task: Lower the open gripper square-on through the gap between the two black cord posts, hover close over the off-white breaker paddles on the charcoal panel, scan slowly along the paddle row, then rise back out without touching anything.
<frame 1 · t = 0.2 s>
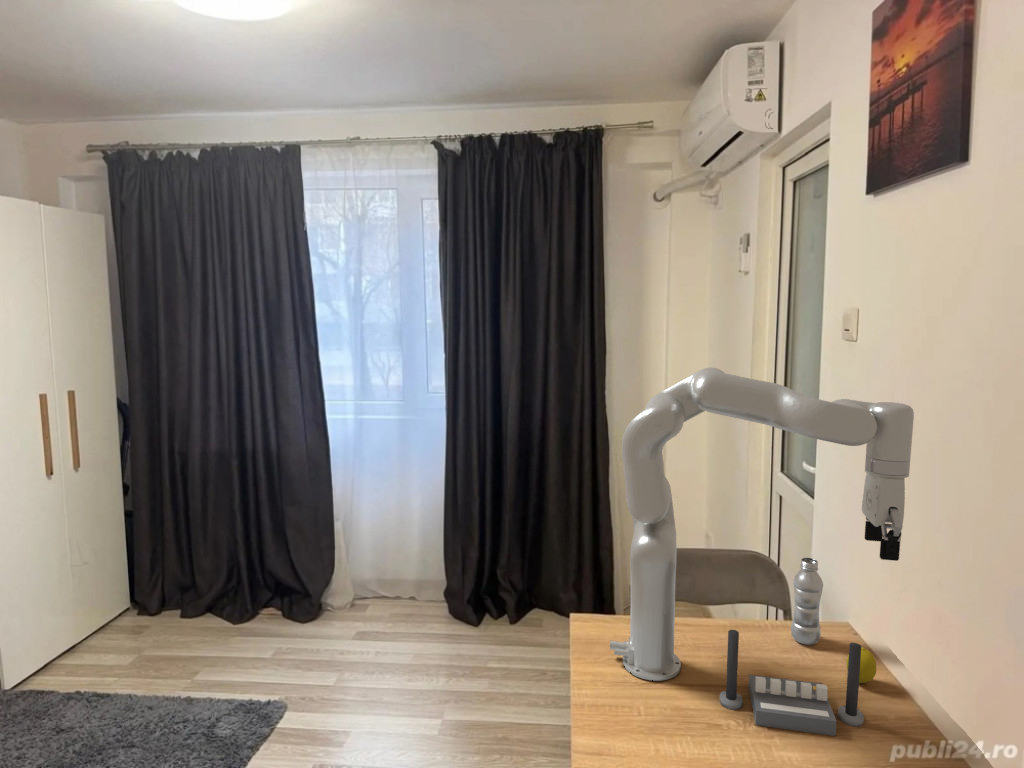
hand: (880, 549, 128), 31 cm above the table, fingers open, 9 cm apart
plastic bottle: (805, 641, 152), on the table
cord post left: (730, 702, 129), on the table
lemon: (860, 683, 135), on the table
cord post right: (850, 718, 124), on the table
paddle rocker: (790, 688, 126), point 5 cm above the table, hinge at 0.0°
breaker panel: (789, 710, 127), on the table
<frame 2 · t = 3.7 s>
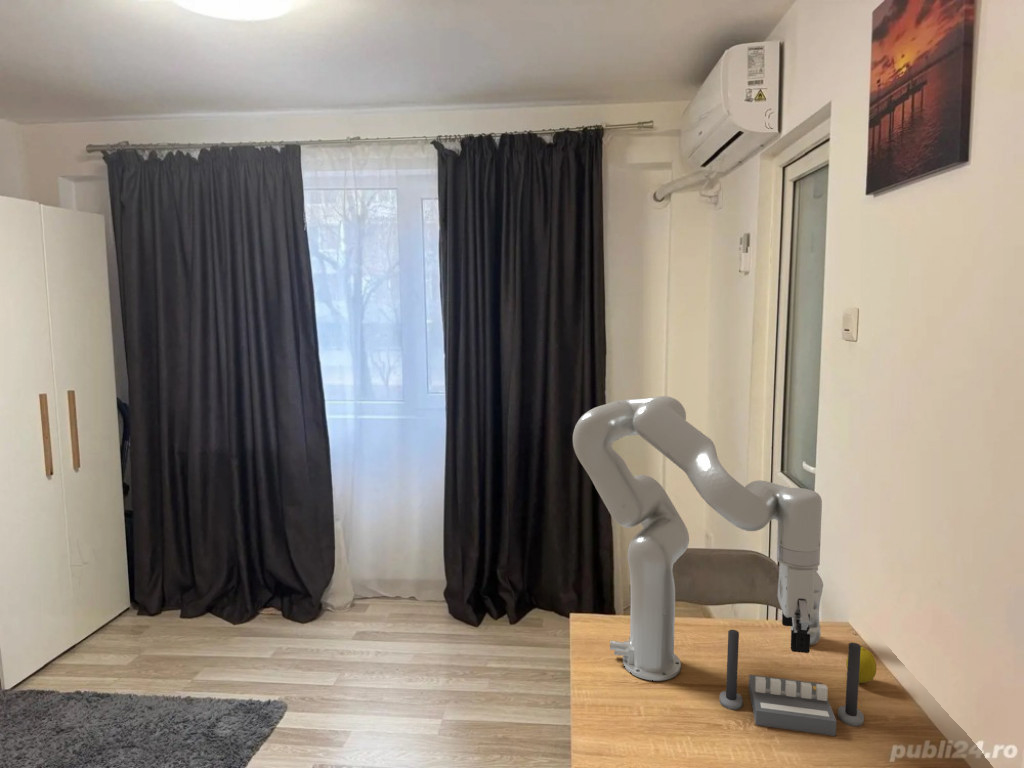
hand: (795, 638, 124), 15 cm above the table, fingers open, 9 cm apart
nothing on the table moved.
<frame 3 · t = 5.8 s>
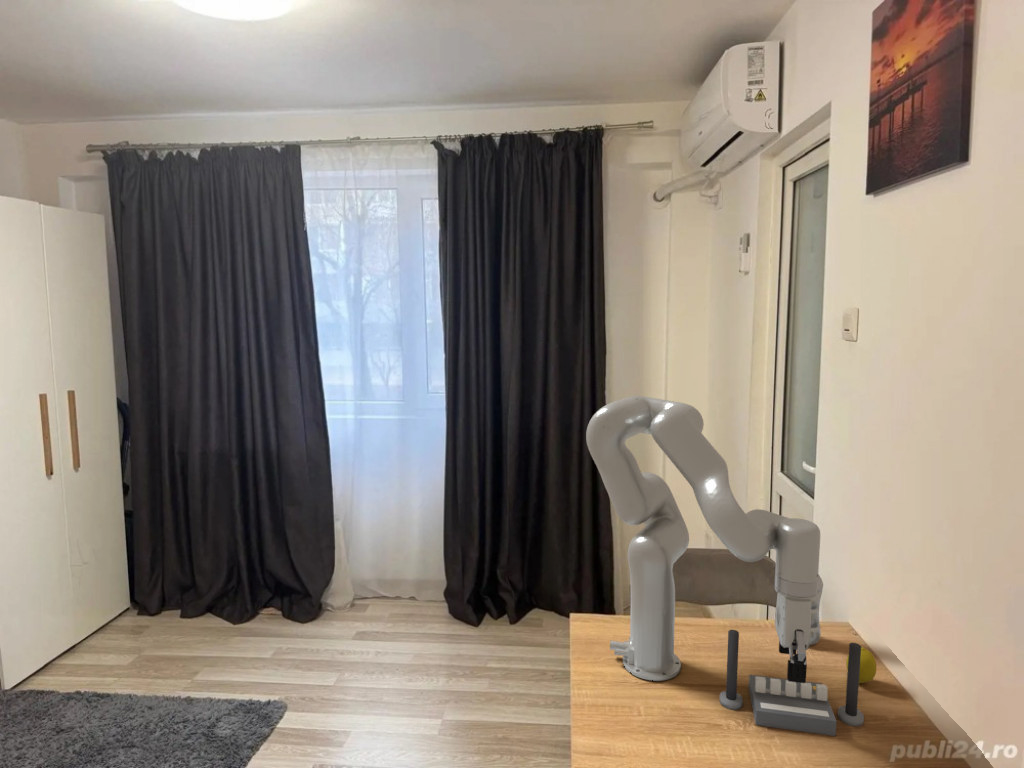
hand: (791, 666, 125), 9 cm above the table, fingers open, 9 cm apart
nothing on the table moved.
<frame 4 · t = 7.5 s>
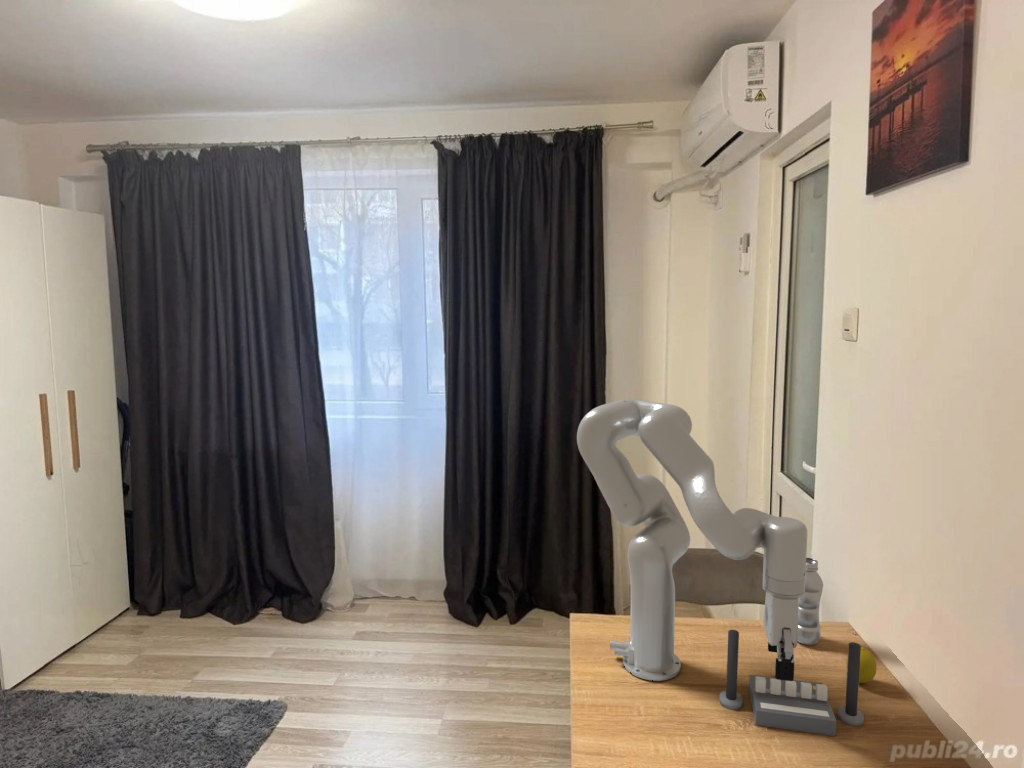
hand: (780, 665, 126), 9 cm above the table, fingers open, 9 cm apart
nothing on the table moved.
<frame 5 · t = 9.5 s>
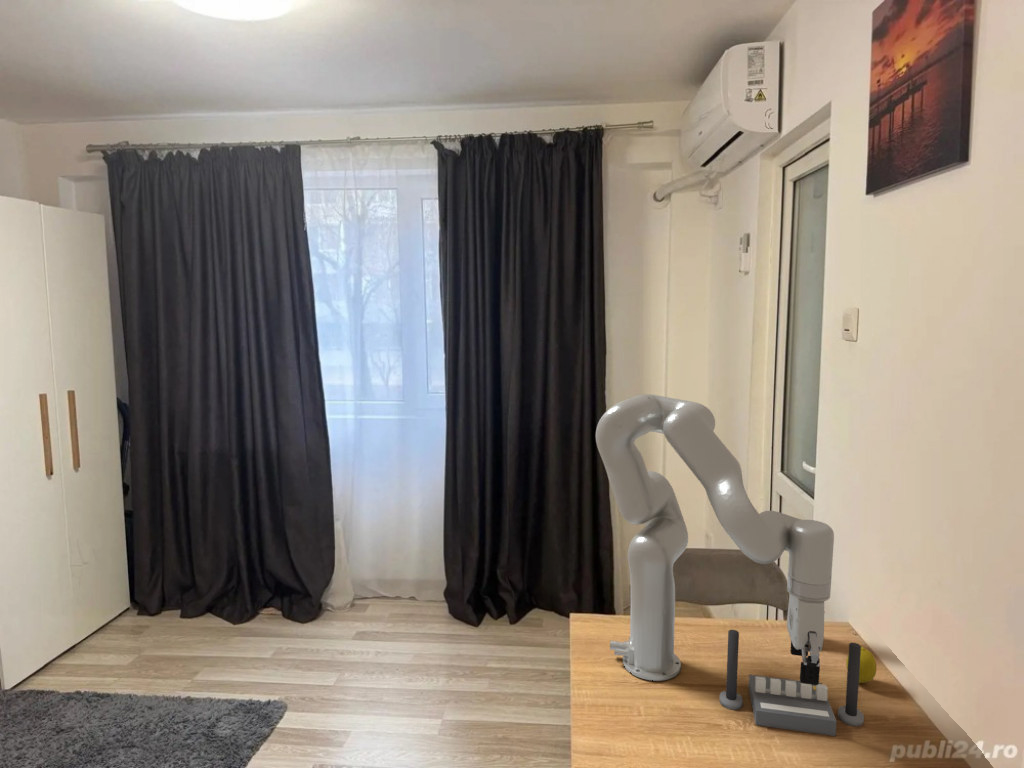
hand: (803, 668, 125), 9 cm above the table, fingers open, 9 cm apart
nothing on the table moved.
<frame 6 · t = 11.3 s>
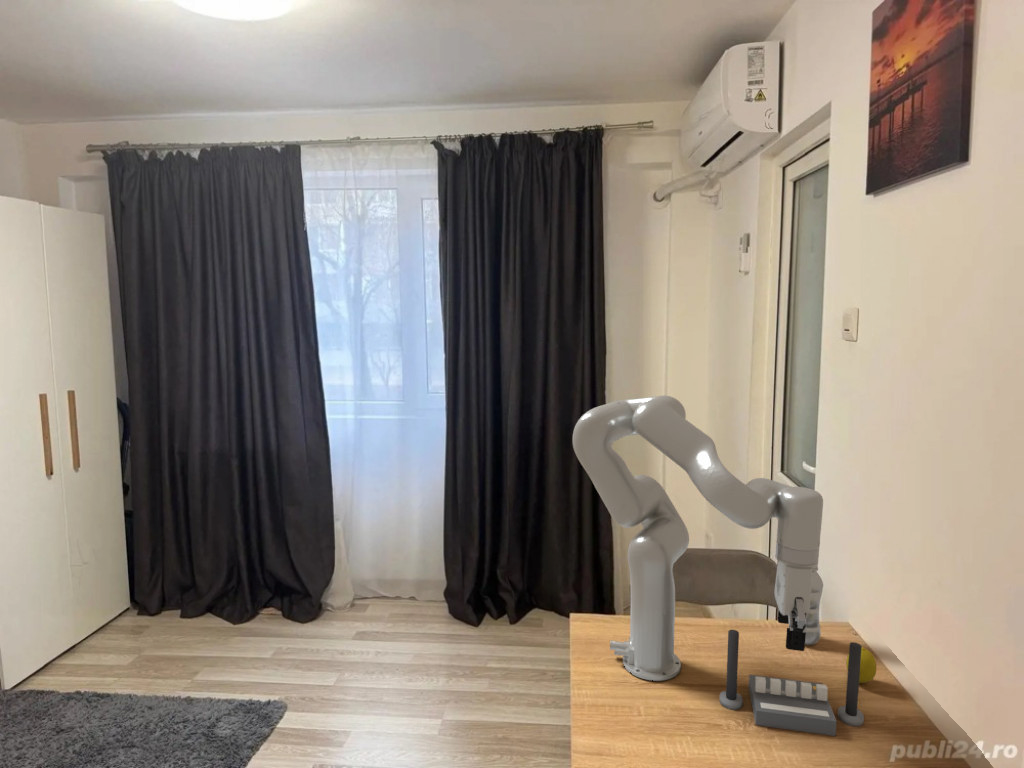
hand: (790, 635, 125), 16 cm above the table, fingers open, 9 cm apart
nothing on the table moved.
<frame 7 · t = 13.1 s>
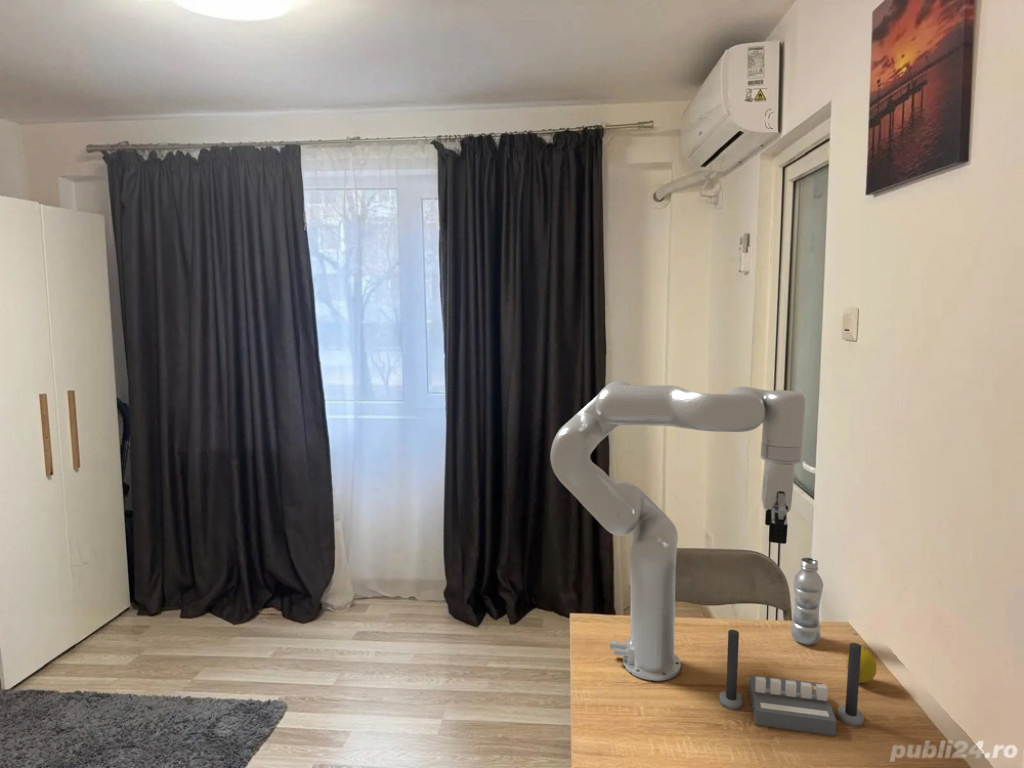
hand: (775, 533, 131), 33 cm above the table, fingers open, 9 cm apart
nothing on the table moved.
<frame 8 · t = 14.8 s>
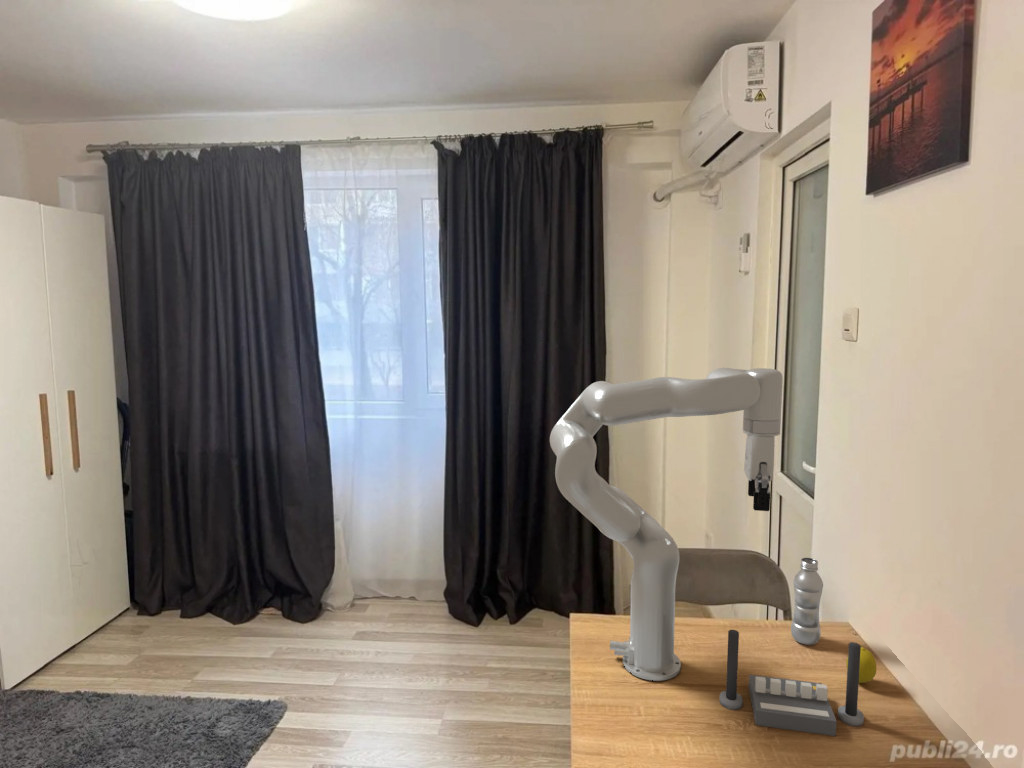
hand: (758, 503, 140), 36 cm above the table, fingers open, 9 cm apart
nothing on the table moved.
at the end: cord post left moved 0.0 cm from its start; cord post right moved 0.0 cm from its start; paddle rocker at +0° (first picture: +0°) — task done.
